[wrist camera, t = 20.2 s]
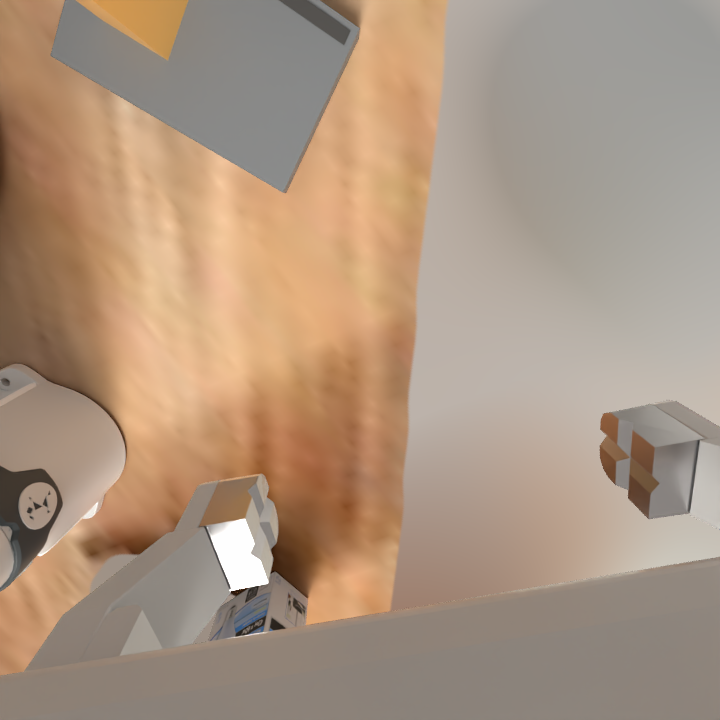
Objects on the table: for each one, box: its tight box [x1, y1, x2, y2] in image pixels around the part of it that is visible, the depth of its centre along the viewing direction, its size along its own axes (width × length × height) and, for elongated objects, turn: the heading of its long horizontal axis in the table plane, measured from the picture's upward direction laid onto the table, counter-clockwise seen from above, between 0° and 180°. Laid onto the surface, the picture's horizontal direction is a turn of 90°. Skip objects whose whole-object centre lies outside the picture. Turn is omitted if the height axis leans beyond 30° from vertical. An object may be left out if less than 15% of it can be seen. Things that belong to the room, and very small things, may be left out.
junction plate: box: [51, 0, 360, 193], centre depth 29 cm, size 19×13×8 cm
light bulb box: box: [208, 572, 308, 641], centre depth 49 cm, size 11×7×11 cm, turn 129°
